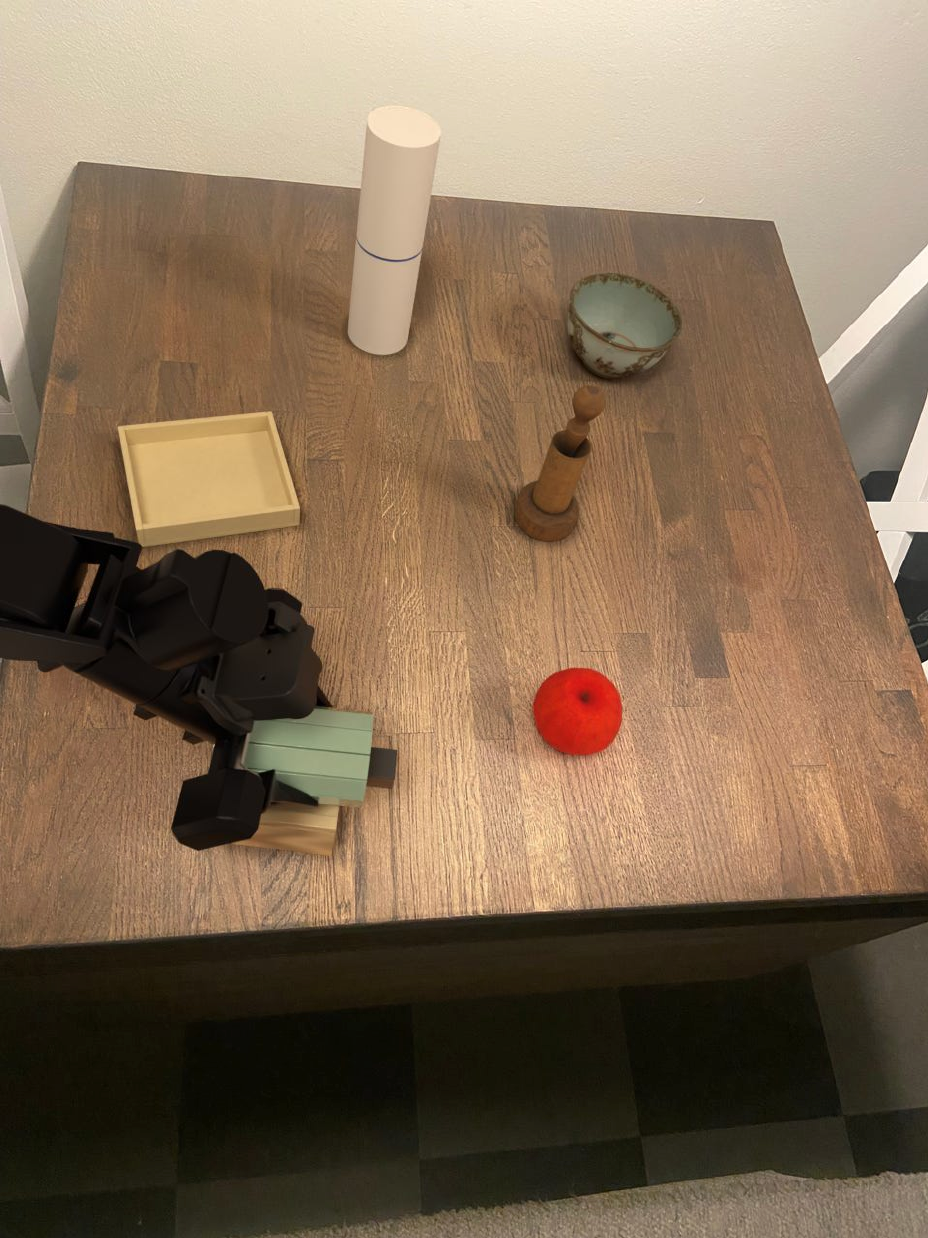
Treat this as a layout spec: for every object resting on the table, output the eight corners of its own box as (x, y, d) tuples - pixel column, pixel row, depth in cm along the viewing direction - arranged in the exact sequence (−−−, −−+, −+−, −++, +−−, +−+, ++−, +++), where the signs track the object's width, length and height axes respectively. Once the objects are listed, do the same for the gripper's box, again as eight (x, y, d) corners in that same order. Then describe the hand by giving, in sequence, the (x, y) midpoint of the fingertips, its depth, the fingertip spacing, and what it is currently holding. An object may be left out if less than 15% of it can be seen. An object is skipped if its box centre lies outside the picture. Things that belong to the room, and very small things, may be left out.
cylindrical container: (352, 354, 106) (373, 144, 85) (343, 313, 109) (362, 102, 89) (412, 354, 107) (447, 149, 87) (402, 314, 111) (433, 108, 90)
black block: (314, 781, 70) (315, 770, 68) (318, 752, 72) (319, 741, 69) (391, 789, 71) (395, 779, 69) (394, 760, 72) (397, 749, 70)
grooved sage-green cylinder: (213, 804, 69) (207, 773, 63) (229, 718, 72) (224, 681, 66) (359, 818, 70) (366, 789, 64) (368, 733, 74) (375, 698, 68)
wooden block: (230, 844, 72) (227, 816, 67) (253, 735, 78) (252, 701, 73) (331, 856, 73) (335, 829, 68) (347, 747, 79) (352, 715, 74)
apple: (569, 677, 87) (592, 636, 81) (626, 741, 84) (654, 703, 78) (506, 719, 83) (525, 679, 77) (563, 787, 80) (587, 751, 74)
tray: (139, 547, 86) (136, 529, 84) (120, 445, 92) (117, 425, 90) (299, 525, 91) (300, 508, 88) (271, 429, 97) (271, 410, 95)
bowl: (540, 377, 109) (558, 323, 103) (565, 312, 117) (583, 258, 110) (649, 415, 109) (673, 363, 102) (666, 347, 117) (690, 295, 110)
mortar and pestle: (502, 503, 97) (544, 374, 82) (551, 486, 100) (601, 358, 85) (535, 549, 94) (585, 424, 80) (585, 531, 97) (642, 406, 82)
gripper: (210, 772, 50) (391, 862, 60) (271, 512, 60) (416, 626, 71) (87, 809, 56) (271, 885, 66) (162, 565, 66) (311, 663, 76)
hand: (322, 758), depth 69 cm, fingers closed on grooved sage-green cylinder, 7 cm apart
